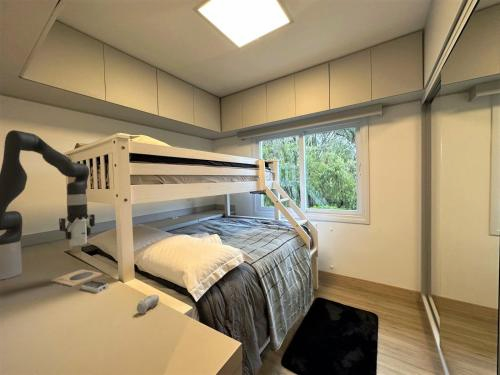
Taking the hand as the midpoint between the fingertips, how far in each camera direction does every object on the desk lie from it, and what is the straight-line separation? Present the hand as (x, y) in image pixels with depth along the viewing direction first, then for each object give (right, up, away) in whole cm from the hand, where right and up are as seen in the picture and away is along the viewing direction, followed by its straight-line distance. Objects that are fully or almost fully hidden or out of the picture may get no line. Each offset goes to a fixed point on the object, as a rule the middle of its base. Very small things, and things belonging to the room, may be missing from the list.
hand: (78, 237), depth 99 cm
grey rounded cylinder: (+47, -19, -27) cm, 58 cm away
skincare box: (0, -4, 0) cm, 4 cm away
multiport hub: (+17, -20, -11) cm, 28 cm away
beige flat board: (-1, -20, 0) cm, 20 cm away
